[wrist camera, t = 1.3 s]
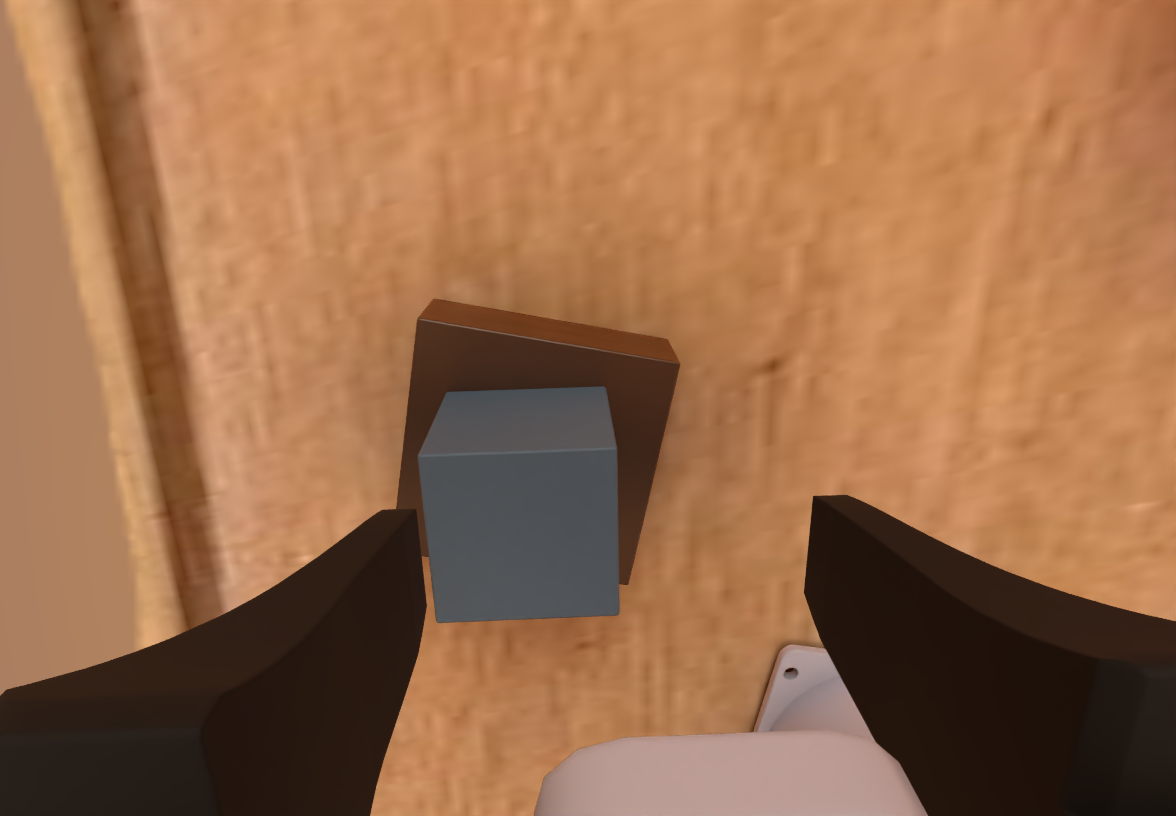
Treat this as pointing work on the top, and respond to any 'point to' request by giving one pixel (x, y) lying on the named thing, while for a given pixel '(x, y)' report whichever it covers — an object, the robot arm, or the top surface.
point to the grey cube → (522, 505)
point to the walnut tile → (537, 361)
